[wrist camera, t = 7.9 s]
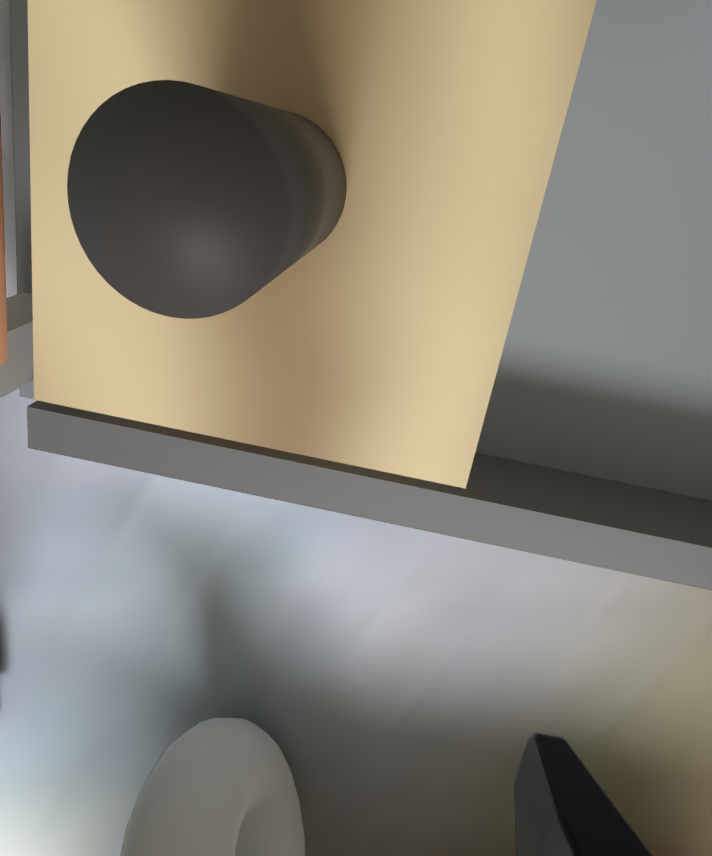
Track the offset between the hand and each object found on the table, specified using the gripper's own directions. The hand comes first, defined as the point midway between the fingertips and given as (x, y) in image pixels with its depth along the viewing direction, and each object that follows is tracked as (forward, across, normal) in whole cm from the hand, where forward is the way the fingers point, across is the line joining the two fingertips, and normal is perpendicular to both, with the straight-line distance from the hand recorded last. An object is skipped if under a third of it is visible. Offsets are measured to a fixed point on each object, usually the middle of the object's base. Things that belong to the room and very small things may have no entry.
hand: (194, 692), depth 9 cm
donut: (+13, +1, +16) cm, 20 cm away
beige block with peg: (+11, +1, -6) cm, 13 cm away
